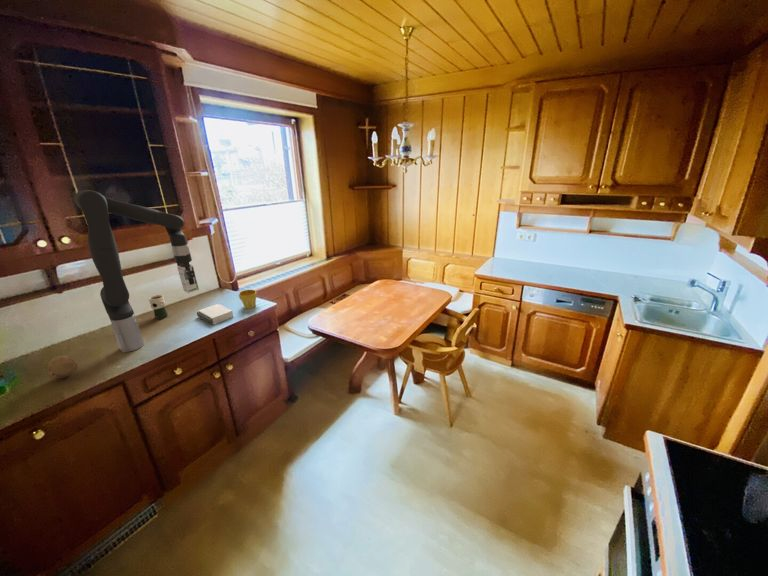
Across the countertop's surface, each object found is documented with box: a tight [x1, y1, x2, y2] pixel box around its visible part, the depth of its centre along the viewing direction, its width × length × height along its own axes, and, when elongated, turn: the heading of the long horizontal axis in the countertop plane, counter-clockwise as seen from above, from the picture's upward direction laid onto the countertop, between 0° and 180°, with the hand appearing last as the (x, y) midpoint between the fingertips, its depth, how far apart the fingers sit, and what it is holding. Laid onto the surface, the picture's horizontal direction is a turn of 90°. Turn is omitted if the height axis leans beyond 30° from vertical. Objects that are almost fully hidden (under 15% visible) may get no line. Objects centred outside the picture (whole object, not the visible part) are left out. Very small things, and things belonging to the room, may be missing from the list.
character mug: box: [148, 294, 168, 320], centre depth 184 cm, size 11×7×13 cm, turn 68°
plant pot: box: [238, 289, 258, 309], centre depth 200 cm, size 10×10×10 cm
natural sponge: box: [46, 355, 79, 379], centre depth 134 cm, size 9×9×10 cm
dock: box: [196, 303, 234, 325], centre depth 187 cm, size 13×16×4 cm
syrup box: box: [176, 263, 199, 294], centre depth 170 cm, size 6×6×14 cm
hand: (189, 282), depth 171 cm, fingers closed on syrup box, 6 cm apart
